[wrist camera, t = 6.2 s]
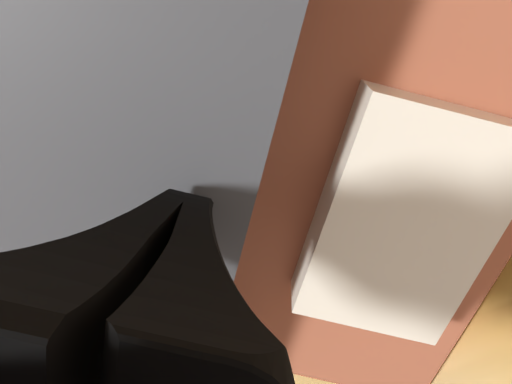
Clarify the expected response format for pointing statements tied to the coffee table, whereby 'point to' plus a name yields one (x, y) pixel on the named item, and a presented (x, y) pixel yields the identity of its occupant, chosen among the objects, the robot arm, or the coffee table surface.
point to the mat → (324, 148)
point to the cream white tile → (405, 214)
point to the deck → (137, 109)
